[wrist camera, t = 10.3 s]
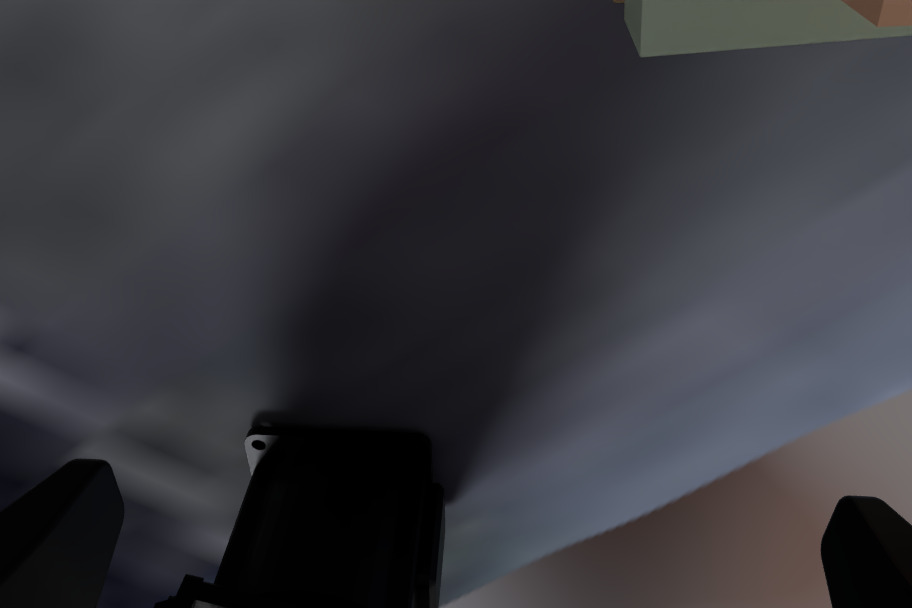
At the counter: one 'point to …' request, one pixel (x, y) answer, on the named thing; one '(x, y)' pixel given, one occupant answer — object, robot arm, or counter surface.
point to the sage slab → (744, 24)
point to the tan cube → (884, 11)
